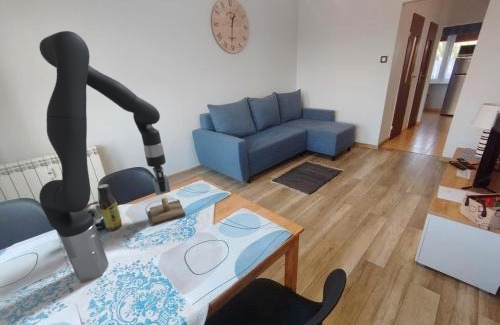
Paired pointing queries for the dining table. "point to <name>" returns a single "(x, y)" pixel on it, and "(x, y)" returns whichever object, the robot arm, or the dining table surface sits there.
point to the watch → (97, 216)
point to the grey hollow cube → (157, 188)
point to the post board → (166, 211)
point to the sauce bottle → (109, 208)
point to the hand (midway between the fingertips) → (162, 188)
